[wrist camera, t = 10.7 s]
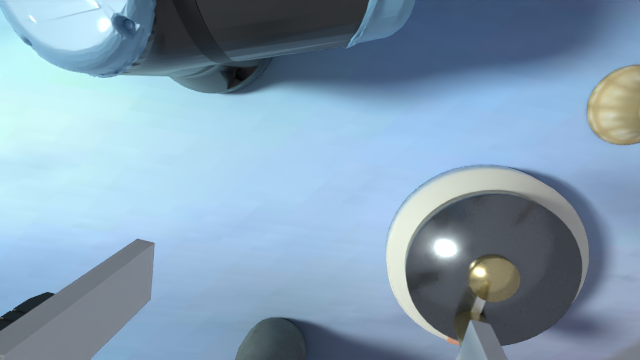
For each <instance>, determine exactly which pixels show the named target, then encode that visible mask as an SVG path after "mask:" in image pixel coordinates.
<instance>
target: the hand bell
mask: <svg viewBox="0 0 640 360" xmlns="http://www.w3.org/2000/svg"><path fill="white" fill-rule="evenodd" d="M587 118H588V122H589V125H590V127H591V129H592V130H593V132H594V133H595V134H596V135H597V136H598V137H599V138H601V139H602V140H604V141H606V142H609V143H612V144H616V145H630V144H635V143H639V142H640V65H631V66H627V67H623V68H620V69H618V70H615V71H614V72H612V73H610V74H609V75H607V76H606V77H605V78H604V79H603V80H601V81H600V82H599V83H598V85H597V86H596V87H595V89H594V90H593V92H592V94H591V96H590V98H589V102H588V107H587Z"/></svg>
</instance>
